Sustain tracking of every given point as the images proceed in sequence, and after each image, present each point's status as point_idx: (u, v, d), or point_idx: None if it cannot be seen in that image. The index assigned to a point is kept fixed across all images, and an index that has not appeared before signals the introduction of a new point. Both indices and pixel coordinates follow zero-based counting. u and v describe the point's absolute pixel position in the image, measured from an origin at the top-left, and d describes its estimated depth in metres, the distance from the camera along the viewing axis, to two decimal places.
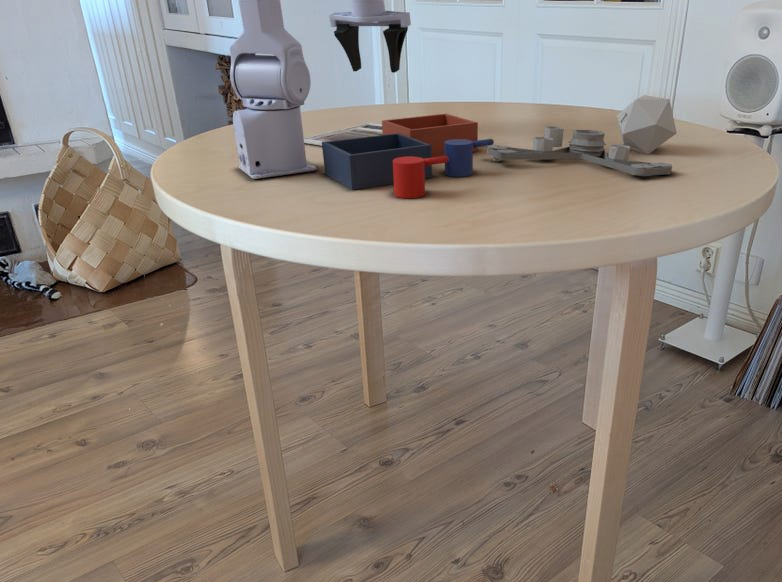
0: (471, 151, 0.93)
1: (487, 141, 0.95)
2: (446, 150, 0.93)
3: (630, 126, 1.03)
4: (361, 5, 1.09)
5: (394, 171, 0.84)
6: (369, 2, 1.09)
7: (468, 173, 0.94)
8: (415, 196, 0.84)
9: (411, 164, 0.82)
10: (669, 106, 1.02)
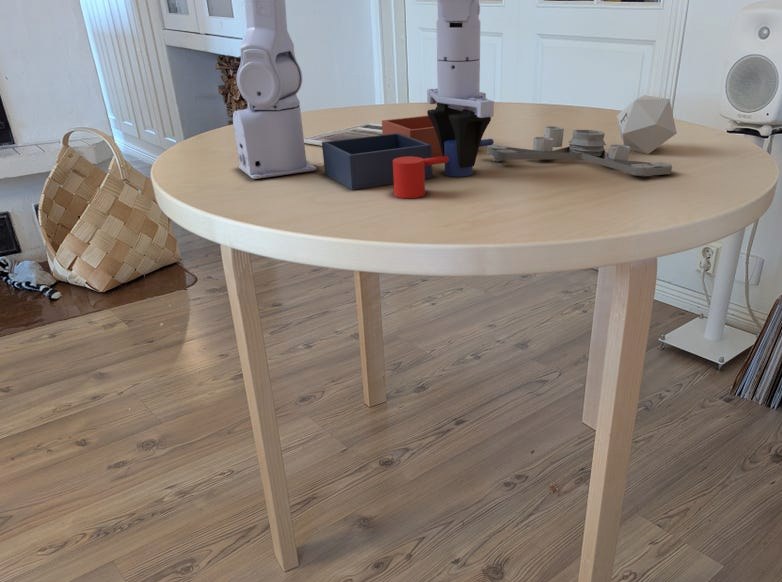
0: None
1: (487, 141, 0.95)
2: (446, 150, 0.93)
3: (630, 126, 1.03)
4: (441, 82, 0.88)
5: (394, 171, 0.84)
6: (449, 80, 0.87)
7: (468, 173, 0.94)
8: (415, 196, 0.84)
9: (411, 164, 0.82)
10: (669, 106, 1.02)
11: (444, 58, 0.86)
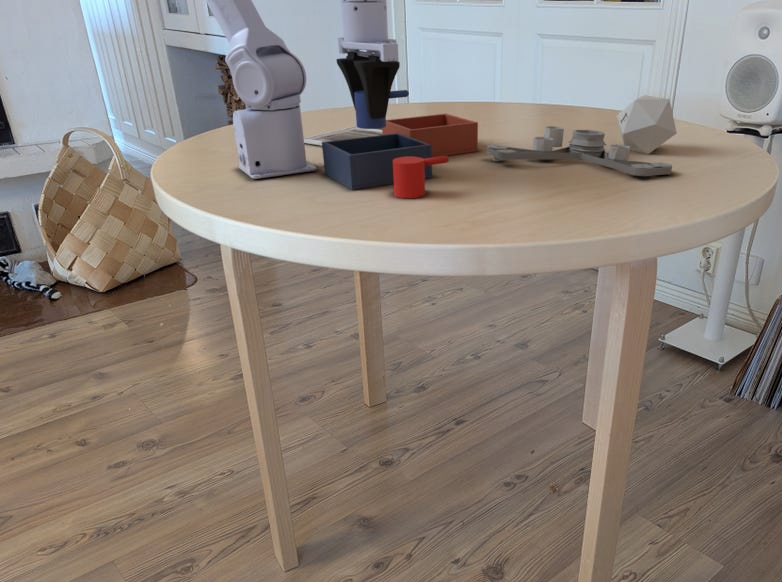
0: None
1: (401, 92, 0.90)
2: (356, 100, 0.88)
3: (630, 126, 1.03)
4: (345, 26, 0.83)
5: (394, 171, 0.84)
6: (353, 23, 0.82)
7: (380, 125, 0.89)
8: (415, 196, 0.84)
9: (411, 164, 0.82)
10: (669, 106, 1.02)
11: None
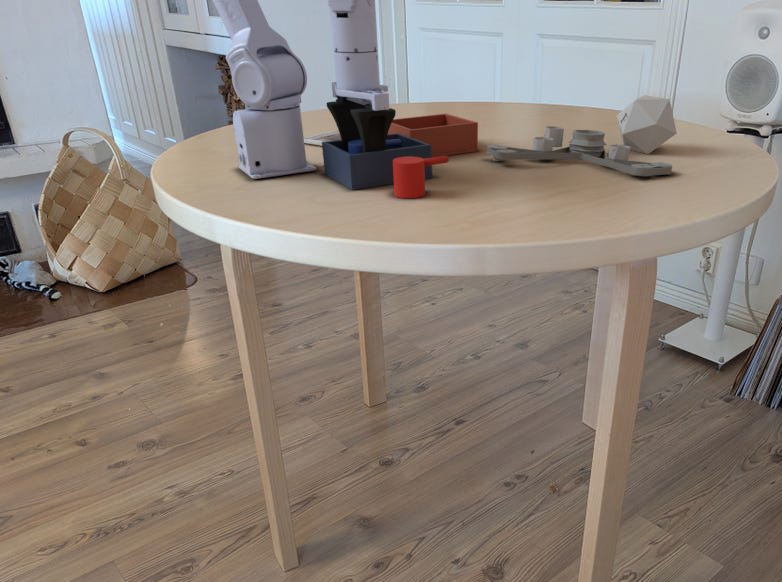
0: None
1: (393, 141, 0.93)
2: (349, 150, 0.91)
3: (630, 126, 1.03)
4: (338, 74, 0.85)
5: (394, 171, 0.84)
6: (345, 73, 0.84)
7: None
8: (415, 196, 0.84)
9: (411, 164, 0.82)
10: (669, 106, 1.02)
11: (336, 49, 0.84)
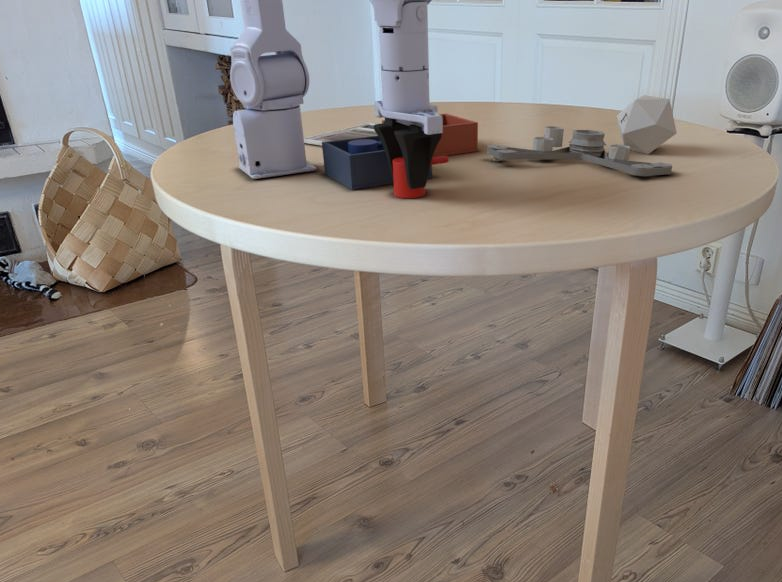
0: None
1: None
2: (349, 150, 0.91)
3: (630, 126, 1.03)
4: (385, 94, 0.78)
5: (394, 171, 0.84)
6: (394, 93, 0.77)
7: None
8: (415, 196, 0.84)
9: None
10: (669, 106, 1.02)
11: (382, 67, 0.78)
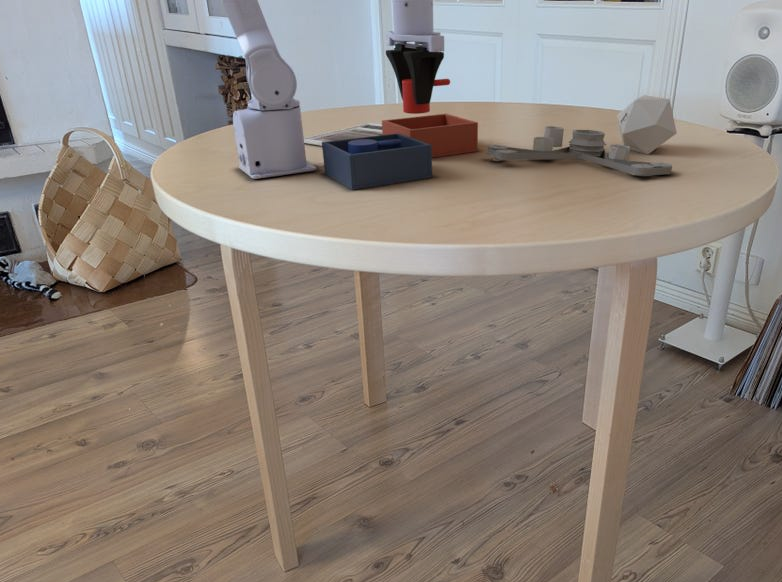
0: None
1: (393, 141, 0.93)
2: (349, 150, 0.91)
3: (630, 126, 1.03)
4: (396, 20, 0.92)
5: (403, 90, 0.98)
6: (403, 18, 0.91)
7: None
8: (421, 112, 0.98)
9: None
10: (669, 106, 1.02)
11: None
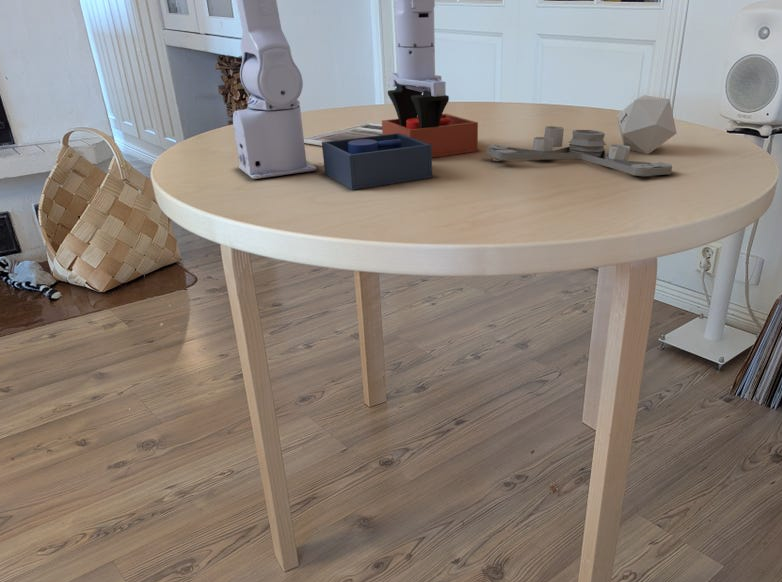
0: None
1: (393, 141, 0.93)
2: (349, 150, 0.91)
3: (630, 126, 1.03)
4: (401, 66, 1.00)
5: None
6: (407, 64, 0.99)
7: None
8: None
9: None
10: (669, 106, 1.02)
11: (413, 45, 0.98)
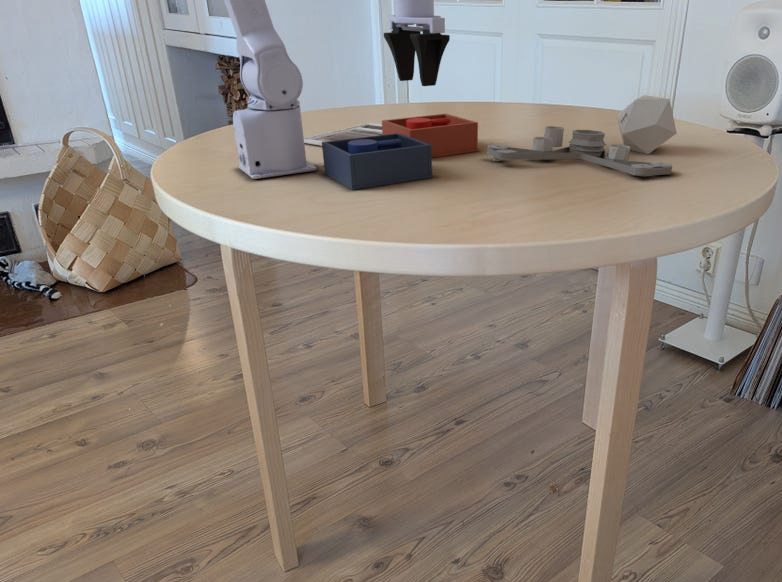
0: None
1: (393, 141, 0.93)
2: (349, 150, 0.91)
3: (630, 126, 1.03)
4: (398, 3, 0.96)
5: None
6: (405, 1, 0.95)
7: None
8: None
9: (421, 123, 1.04)
10: (669, 106, 1.02)
11: None
